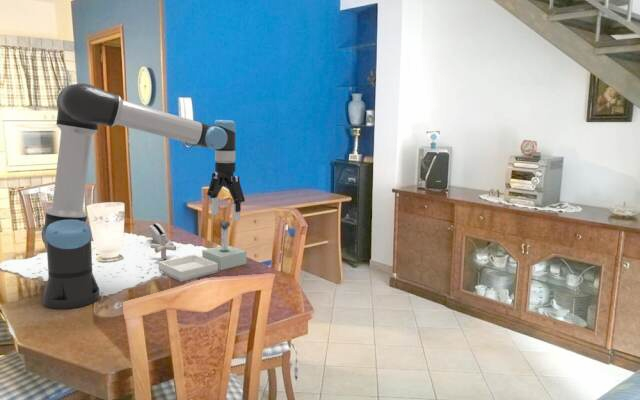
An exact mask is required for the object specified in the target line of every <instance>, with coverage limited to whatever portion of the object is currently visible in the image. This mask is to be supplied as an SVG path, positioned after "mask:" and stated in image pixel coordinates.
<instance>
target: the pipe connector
mask: <svg viewBox="0 0 640 400" xmlns="http://www.w3.org/2000/svg"><path fill="white" fill-rule="evenodd" d="M166 234H167V233H166ZM166 234H161V244H157V243H151V244H150V249H154V252H155V253H156V254H157V253H160V258H161V259H166V260H167V250H168V251H176V250H177V246H176V245H174V246H172V243H173V242H172V241H171V242H172V243H171V242H168V243H166ZM161 259H160V260H161Z"/></svg>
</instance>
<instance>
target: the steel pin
mask: <svg viewBox="0 0 640 400" xmlns="http://www.w3.org/2000/svg"><path fill="white" fill-rule="evenodd" d="M219 227H221V233H220V235H221V237H220V238H221V240H220V241H221V244H220V245H221V246H220V247H221V252H223V253H224V252H228V245H229V240H228V239H229V238H228V237H229V236H228V235H229V234H228V232H229V227H231V222H230V221H220V222H219Z"/></svg>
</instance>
